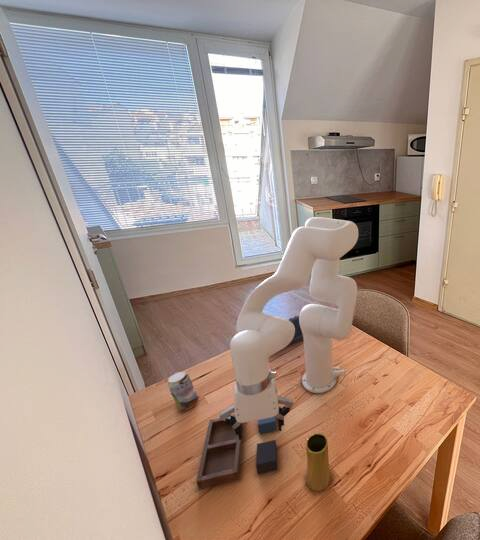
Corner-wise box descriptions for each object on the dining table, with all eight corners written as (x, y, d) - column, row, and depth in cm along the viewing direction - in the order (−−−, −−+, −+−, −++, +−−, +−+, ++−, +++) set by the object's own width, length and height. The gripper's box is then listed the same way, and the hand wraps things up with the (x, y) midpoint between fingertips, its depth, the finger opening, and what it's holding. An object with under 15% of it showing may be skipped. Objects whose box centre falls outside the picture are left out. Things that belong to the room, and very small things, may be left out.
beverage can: (190, 414, 94) (181, 386, 89) (170, 409, 95) (160, 382, 90) (203, 398, 99) (196, 371, 94) (184, 394, 100) (176, 367, 95)
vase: (307, 467, 80) (305, 431, 74) (330, 465, 80) (329, 430, 74) (306, 492, 74) (303, 456, 68) (330, 490, 75) (329, 454, 69)
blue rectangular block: (276, 413, 95) (275, 404, 93) (276, 430, 89) (275, 421, 88) (260, 417, 93) (258, 408, 92) (259, 434, 88) (257, 424, 86)
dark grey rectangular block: (277, 448, 84) (275, 439, 82) (277, 469, 79) (275, 460, 77) (258, 453, 83) (257, 443, 81) (257, 474, 78) (255, 465, 76)
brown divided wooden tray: (244, 420, 92) (243, 413, 91) (238, 479, 76) (236, 472, 75) (211, 426, 90) (209, 419, 88) (198, 489, 74) (196, 481, 73)
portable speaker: (307, 325, 138) (306, 307, 134) (319, 336, 132) (318, 317, 127) (255, 347, 124) (252, 327, 120) (265, 360, 117) (262, 339, 113)
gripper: (290, 363, 74) (294, 412, 81) (216, 374, 70) (226, 425, 77) (292, 385, 68) (296, 436, 74) (210, 399, 63) (222, 451, 70)
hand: (260, 430), depth 76 cm, fingers open, 9 cm apart
